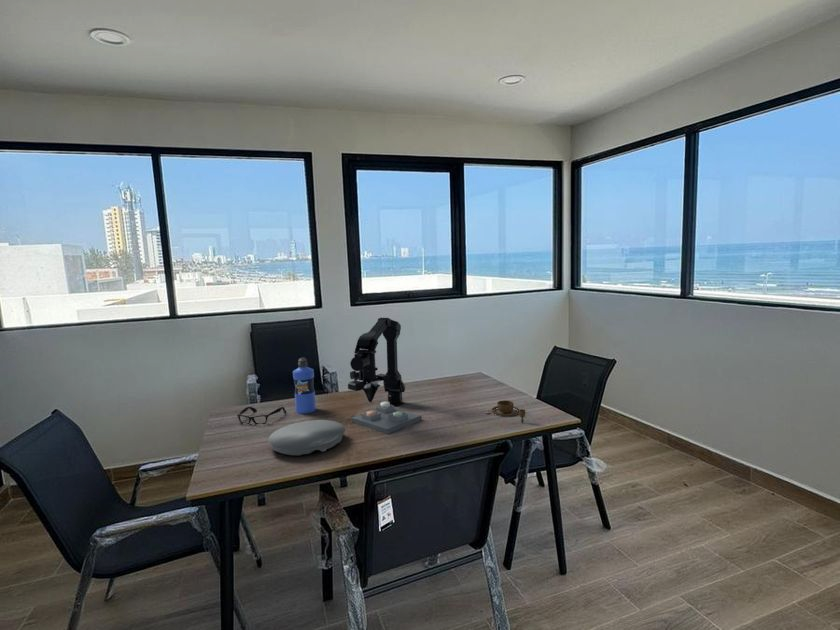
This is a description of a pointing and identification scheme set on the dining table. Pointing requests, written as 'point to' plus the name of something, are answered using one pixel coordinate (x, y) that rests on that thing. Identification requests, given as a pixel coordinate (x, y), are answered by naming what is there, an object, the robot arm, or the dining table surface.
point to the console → (386, 419)
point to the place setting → (508, 409)
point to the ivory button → (385, 405)
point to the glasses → (257, 416)
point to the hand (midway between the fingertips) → (370, 401)
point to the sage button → (397, 414)
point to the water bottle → (304, 388)
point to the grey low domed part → (306, 437)
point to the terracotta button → (370, 413)
